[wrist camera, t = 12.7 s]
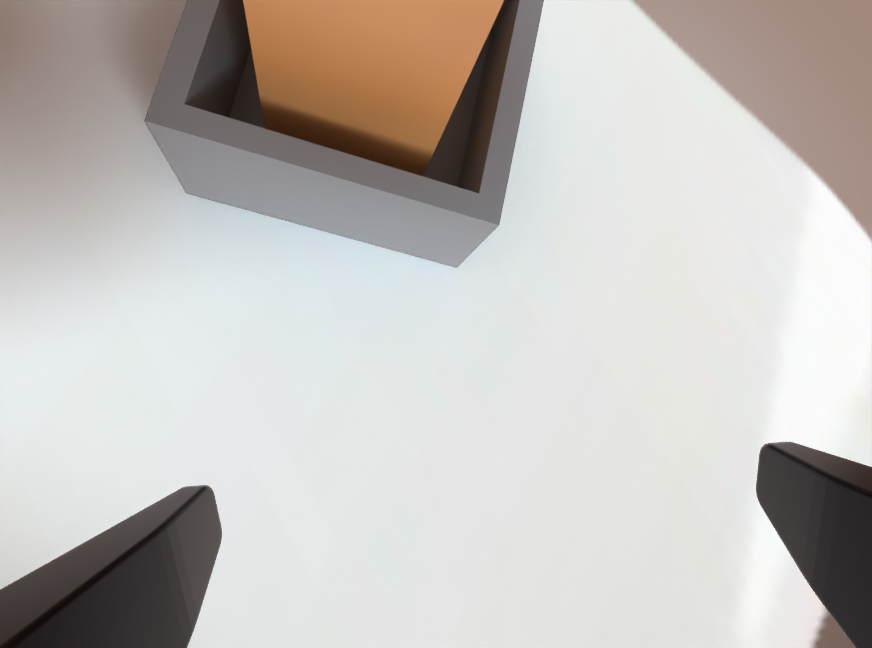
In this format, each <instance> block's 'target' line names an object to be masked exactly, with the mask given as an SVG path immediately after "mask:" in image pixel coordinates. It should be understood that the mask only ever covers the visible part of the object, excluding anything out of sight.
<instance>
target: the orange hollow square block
mask: <svg viewBox="0 0 872 648" xmlns="http://www.w3.org/2000/svg"><path fill="white" fill-rule="evenodd" d="M243 2H244V8H245V14H246V20H247V26H248V32H249V38H250V43H251V49H252V55H253V61H254V67H255V73H256V79H257V84H258V90H259V96H260V102H261V108H262V114H263V120H264V125H265V129H268V130H271V131H275V132H278V133H281V134H284V135H288V136H291V137H294V138H298V139H301V140H304V141H308V142H311V143H314V144H317V145H321V146H324V147H327V148H331V149H334V150H337V151H341V152H344V153H347V154H350V155H354V156H357V157H360V158H364V159H367V160H370V161H374V162H377V163H380V164H383V165H387V166H390V167H393V168H397V169H400V170H403V171H407V172H410V173H413V174H416V175H420V176H423V175H424V172H425V170H426V168H427V166H428V164H429V162H430V159H431V157H432V155H433V153H434V151H435V149H436V146H437V144H438V142H439V140H440V138H441V136H442V134H443V131H444V129H445V127H446V125H447V123H448V121H449V118H450V116H451V114H452V112H453V110H454V108H455V105H456V103H457V101H458V99H459V97H460V95H461V92H462V90H463V88H464V86H465V84H466V82H467V80H468V77H469V75H470V73H471V71H472V69H473V67H474V64H475V62H476V60H477V58H478V56H479V54H480V51H481V49H482V47H483V45H484V43H485V41H486V38H487V36H488V34H489V32H490V30H491V28H492V26H493V23H494V21H495V19H496V17H497V15H498V13H499V10H500V8H501V6H502V4H503V2H504V0H243Z"/></svg>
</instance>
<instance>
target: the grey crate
mask: <svg viewBox="0 0 872 648" xmlns="http://www.w3.org/2000/svg"><path fill="white" fill-rule="evenodd" d="M543 2H544V0H504V2H503V4H502V6H501V8H500V10H499V13H498V15H497V17H496V19H495V21H494V23H493V26H492V28H491V30H490V32H489V34H488V36H487V38H486V41H485V43H484V45H483V47H482V49H481V51H480V54H479V56H478V58H477V60H476V62H475V64H474V67H473V69H472V71H471V73H470V75H469V77H468V80H467V82H466V84H465V86H464V88H463V90H462V92H461V95H460V97H459V99H458V101H457V103H456V105H455V108H454V110H453V112H452V114H451V116H450V118H449V121H448V123H447V125H446V127H445V129H444V131H443V134H442V136H441V138H440V140H439V142H438V144H437V146H436V149H435V151H434V153H433V155H432V157H431V159H430V162H429V164H428V166H427V168H426V170H425V172H424V175H423V176H420V175H416V174H413V173H410V172H407V171H403V170H400V169H397V168H393V167H390V166H387V165H383V164H380V163H377V162H374V161H370V160H367V159H364V158H360V157H357V156H354V155H350V154H347V153H344V152H341V151H337V150H334V149H331V148H327V147H324V146H321V145H317V144H314V143H311V142H308V141H304V140H301V139H298V138H294V137H291V136H288V135H284V134H281V133H278V132H275V131H271V130H268V129H265V125H264V120H263V114H262V108H261V102H260V96H259V90H258V84H257V79H256V73H255V67H254V61H253V55H252V49H251V43H250V38H249V32H248V26H247V20H246V14H245V8H244V2H243V0H187V3H186V6H185V8H184V11H183V14H182V17H181V20H180V22H179V25H178V28H177V31H176V34H175V37H174V39H173V42H172V45H171V48H170V51H169V53H168V56H167V59H166V62H165V65H164V67H163V70H162V73H161V76H160V79H159V81H158V84H157V87H156V90H155V93H154V95H153V98H152V101H151V104H150V107H149V109H148V112H147V115H146V118H145V123H146V124H147V126H148V128H149V130H150V131H151V133H152V135H153V137H154V138H155V140H156V142H157V143H158V145H159V147H160V149H161V150H162V152H163V154H164V155H165V157H166V159H167V161H168V162H169V164H170V166H171V168H172V169H173V171H174V173H175V174H176V176H177V178H178V180H179V181H180V183H181V185H182V186H183V188H184V190H185V192H186V193H188V194H191V195H195V196H199V197H202V198H206V199H210V200H213V201H217V202H220V203H224V204H228V205H231V206H235V207H239V208H242V209H246V210H249V211H253V212H257V213H260V214H264V215H268V216H271V217H275V218H278V219H282V220H286V221H289V222H293V223H297V224H300V225H304V226H308V227H311V228H315V229H318V230H322V231H326V232H329V233H333V234H337V235H340V236H344V237H347V238H351V239H355V240H358V241H362V242H366V243H369V244H373V245H376V246H380V247H384V248H387V249H391V250H395V251H398V252H402V253H406V254H409V255H413V256H416V257H420V258H424V259H427V260H431V261H435V262H438V263H442V264H445V265H449V266H453V267H456V268H457V267H458V266H459V265H460V264H461V263H462V262H463V261H464V260H465V259H466V258H467V257H468V256H469V255H470V254H471V253H472V252H473V251H474V250H475V249H476V248H477V247H478V246H479V245H480V244H481V243H482V242H483V241H484V240H485V239H486V238H487V237H488V236H489V235H490V234H491V233H492V232H493V231H494V230H495V229H496V228H497V227H498V226H499V223H500V218H501V213H502V208H503V203H504V198H505V193H506V188H507V183H508V178H509V172H510V167H511V162H512V157H513V152H514V147H515V142H516V137H517V132H518V127H519V122H520V117H521V112H522V107H523V102H524V97H525V92H526V87H527V82H528V77H529V72H530V67H531V62H532V57H533V52H534V47H535V42H536V37H537V32H538V27H539V22H540V17H541V12H542V7H543Z"/></svg>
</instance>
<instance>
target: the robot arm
mask: <svg viewBox="0 0 872 648" xmlns="http://www.w3.org/2000/svg"><path fill="white" fill-rule="evenodd" d="M756 493H757V498H758V500H759V503H760V505H761V507H762V508H763V510H764V512H765V513H766V515H767V517H768V518H769V520H770V521H771V523H772V525H773V526H774V528H775V530H776V531H777V533H778V535H779V536H780V538H781V540H782V541H783V543H784V545H785V546H786V548H787V550H788V551H789V553H790V554H791V556H792V558H793V559H794V561H795V563H796V564H797V566H798V568H799V569H800V571H801V573H802V574H803V576H804V577H805V579H806V580H807V582H808V583H809V585H810V586H811V588H812V589H813V591H814V592H815V594H816V595H817V596H818V598H819V599H820V601H821V602H822V604H823V605H824V606H825V608H826V609H827V610H828V612H829V613H830V614H831V616H832V617H833V618H834V620H835V621H836V622H837V624H838V625H839V626H840V628H841V629H842V630H843V632H844V633H845V634H846V636H847V637H848V638H849V640H850V641H851V642H852V644H853V645H854V646H855V648H872V467H870V466H867V465H863V464H860V463H857V462H854V461H851V460H847V459H844V458H841V457H838V456H835V455H831V454H828V453H825V452H822V451H819V450H815V449H812V448H809V447H806V446H803V445H799V444H796V443H793V442H778V443H768V444H765V445H764V446H763V447H762V448H761V450H760V454H759V464H758V474H757V484H756ZM221 539H222V529H221V523H220V519H219V514H218V510H217V505H216V500H215V496H214V492H213V490H212V488H210V487H209V486H207V485H200V486H187V487H183V488H181V489H179V490H177V491H176V492H174V493H172V494H170V495H169V496H167V497H165V498H163V499H161V500H160V501H158V502H156V503H154V504H152V505H151V506H149V507H147V508H145V509H144V510H142V511H140V512H138V513H136V514H135V515H133V516H131V517H129V518H127V519H126V520H124V521H122V522H120V523H119V524H117V525H115V526H113V527H111V528H110V529H108V530H106V531H104V532H102V533H101V534H99V535H97V536H95V537H94V538H92V539H90V540H88V541H86V542H85V543H83V544H81V545H79V546H77V547H76V548H74V549H72V550H70V551H69V552H67V553H65V554H63V555H61V556H60V557H58V558H56V559H54V560H52V561H51V562H49V563H47V564H45V565H43V566H42V567H40V568H38V569H36V570H35V571H33V572H31V573H29V574H27V575H26V576H24V577H22V578H20V579H18V580H17V581H15V582H13V583H11V584H10V585H8V586H6V587H4V588H2V589H1V590H0V648H187V646H188V643H189V641H190V638H191V636H192V633H193V631H194V628H195V625H196V622H197V619H198V616H199V613H200V609H201V606H202V603H203V600H204V596H205V593H206V590H207V586H208V583H209V580H210V577H211V573H212V570H213V567H214V564H215V560H216V557H217V554H218V551H219V547H220V544H221Z"/></svg>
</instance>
